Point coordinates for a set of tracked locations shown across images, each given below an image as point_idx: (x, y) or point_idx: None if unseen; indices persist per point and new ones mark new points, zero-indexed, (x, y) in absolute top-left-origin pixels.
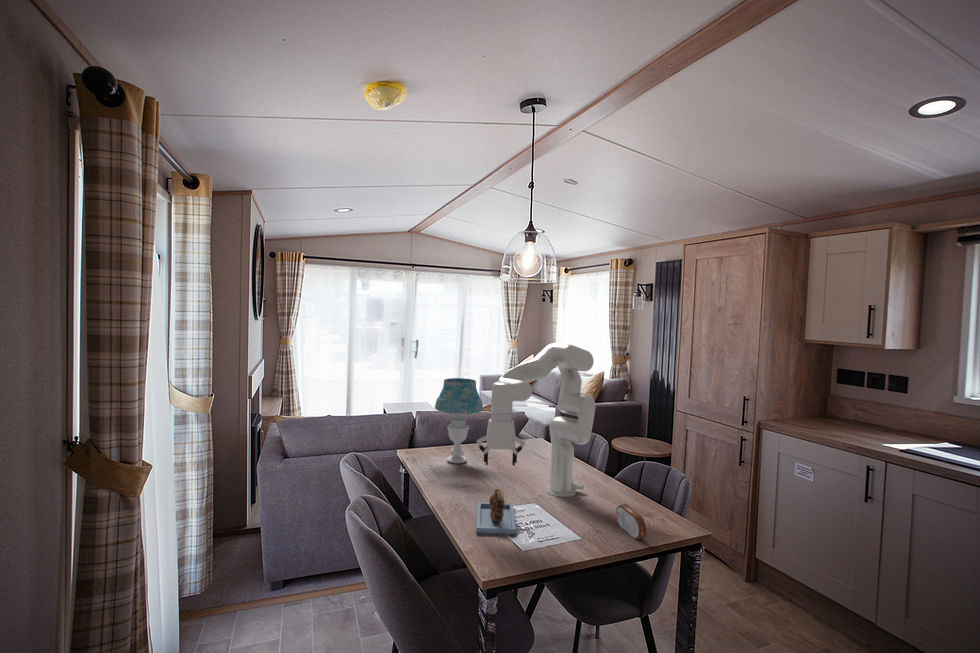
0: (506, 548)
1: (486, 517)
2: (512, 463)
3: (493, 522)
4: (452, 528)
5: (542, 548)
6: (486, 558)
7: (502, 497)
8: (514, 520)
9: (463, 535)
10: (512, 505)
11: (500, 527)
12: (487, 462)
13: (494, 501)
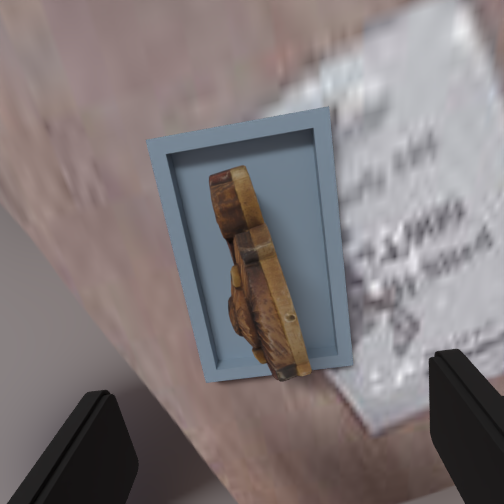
0: (320, 431)
1: (220, 254)
2: (432, 394)
3: None
4: (119, 349)
5: None
6: (269, 483)
7: (299, 355)
8: (345, 297)
9: (171, 385)
10: (329, 135)
11: None
12: (126, 494)
13: (257, 358)
